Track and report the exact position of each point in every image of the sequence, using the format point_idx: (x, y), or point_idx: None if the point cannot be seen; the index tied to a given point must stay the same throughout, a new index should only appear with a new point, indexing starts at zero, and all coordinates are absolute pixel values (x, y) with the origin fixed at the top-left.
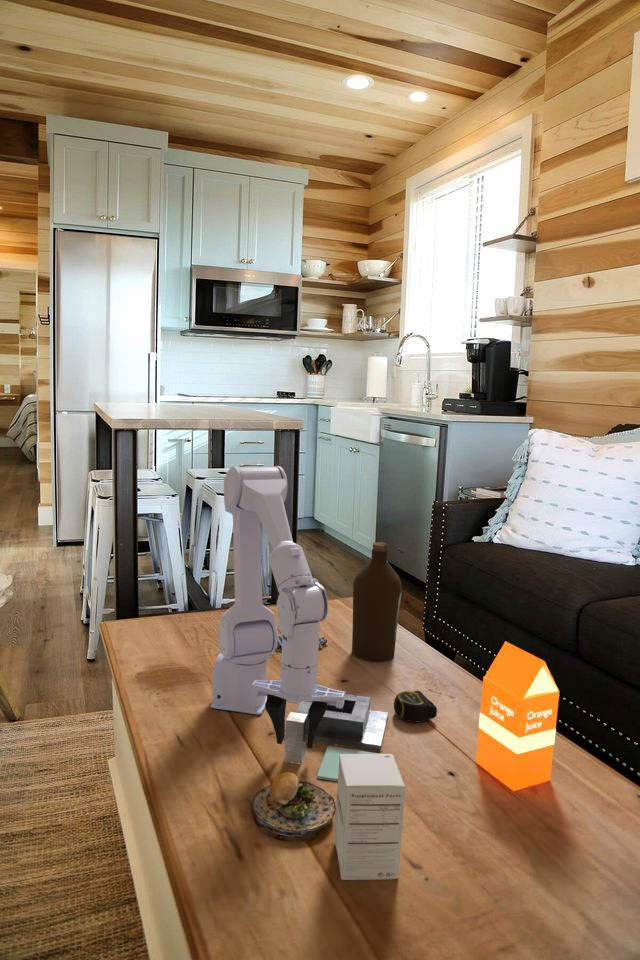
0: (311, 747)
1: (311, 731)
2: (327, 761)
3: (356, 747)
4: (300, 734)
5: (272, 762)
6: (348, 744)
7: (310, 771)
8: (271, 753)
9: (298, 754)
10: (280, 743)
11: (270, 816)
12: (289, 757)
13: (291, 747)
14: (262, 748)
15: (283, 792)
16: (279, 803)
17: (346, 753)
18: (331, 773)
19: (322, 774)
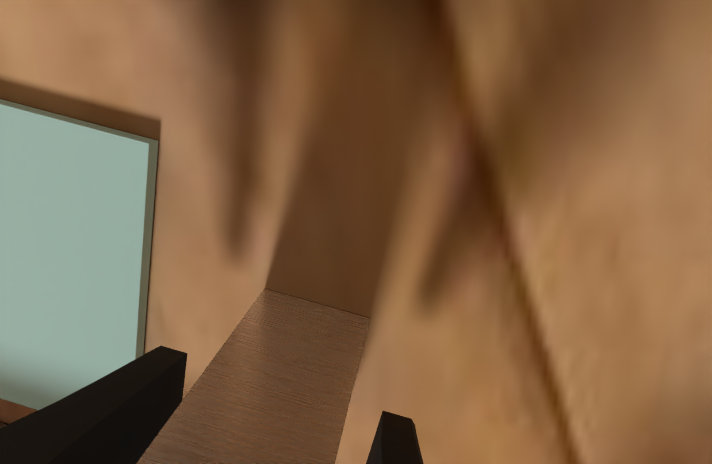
0: (152, 350)
1: (42, 436)
2: (110, 297)
3: (3, 425)
4: (185, 436)
5: (443, 315)
6: None
7: (206, 217)
8: (446, 404)
9: (264, 326)
10: (387, 415)
11: None
12: (331, 327)
13: (303, 368)
14: (500, 453)
15: None
16: None
17: (26, 369)
18: (67, 171)
19: (118, 158)
